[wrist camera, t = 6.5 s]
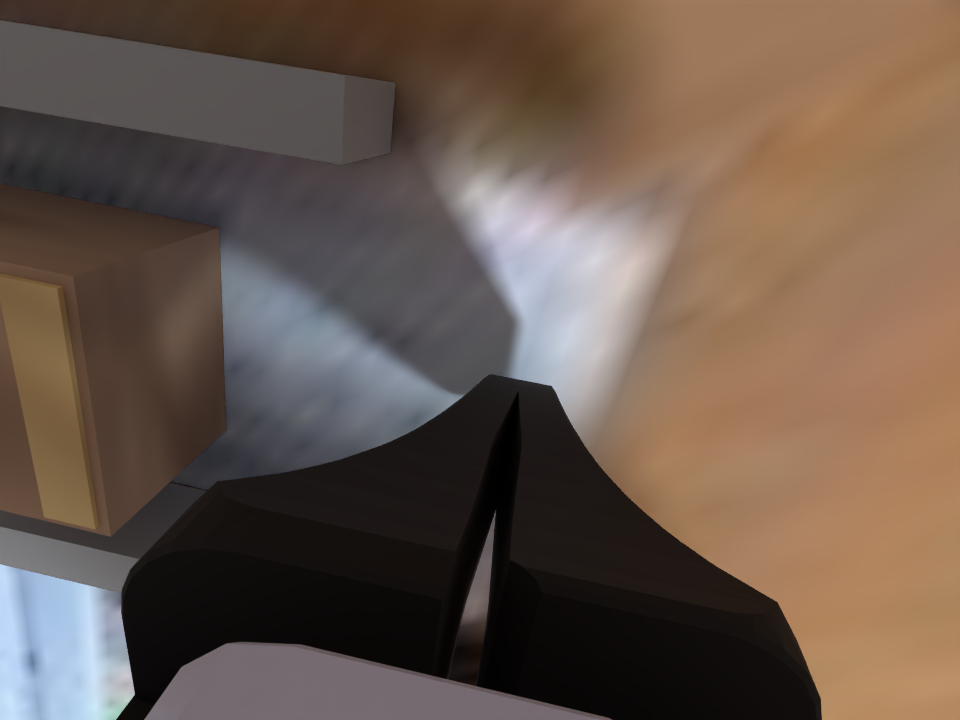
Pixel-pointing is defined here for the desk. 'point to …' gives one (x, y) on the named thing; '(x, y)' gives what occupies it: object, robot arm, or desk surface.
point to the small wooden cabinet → (103, 356)
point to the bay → (188, 114)
